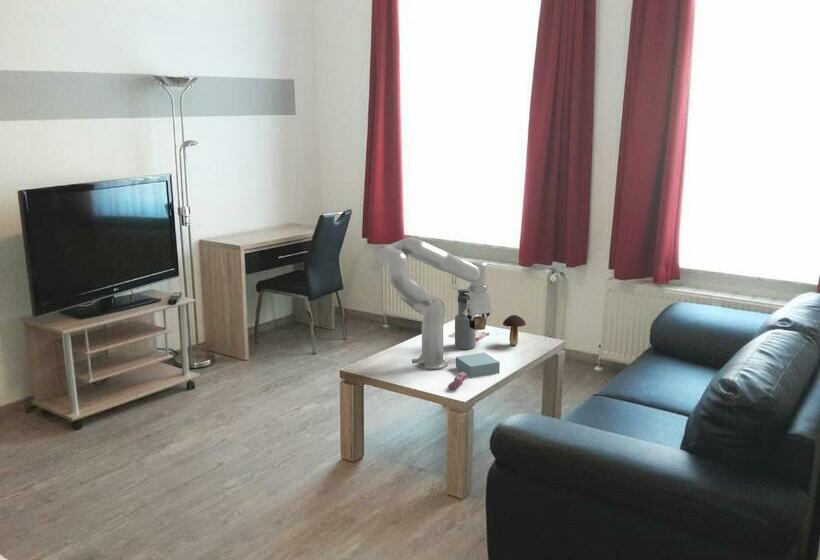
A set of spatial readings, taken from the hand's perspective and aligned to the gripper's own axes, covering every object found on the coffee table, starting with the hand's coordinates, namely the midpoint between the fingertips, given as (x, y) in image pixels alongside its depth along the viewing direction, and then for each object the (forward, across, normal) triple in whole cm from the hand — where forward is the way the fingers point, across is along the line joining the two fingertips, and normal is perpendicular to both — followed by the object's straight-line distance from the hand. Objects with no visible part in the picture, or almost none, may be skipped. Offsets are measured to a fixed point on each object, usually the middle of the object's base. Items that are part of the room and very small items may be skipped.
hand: (477, 327), depth 337 cm
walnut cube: (+1, 0, 0) cm, 1 cm away
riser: (+14, -8, -16) cm, 23 cm away
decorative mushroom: (+14, +24, +7) cm, 28 cm away
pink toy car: (+15, -24, -29) cm, 41 cm away
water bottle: (+14, +2, +15) cm, 21 cm away
